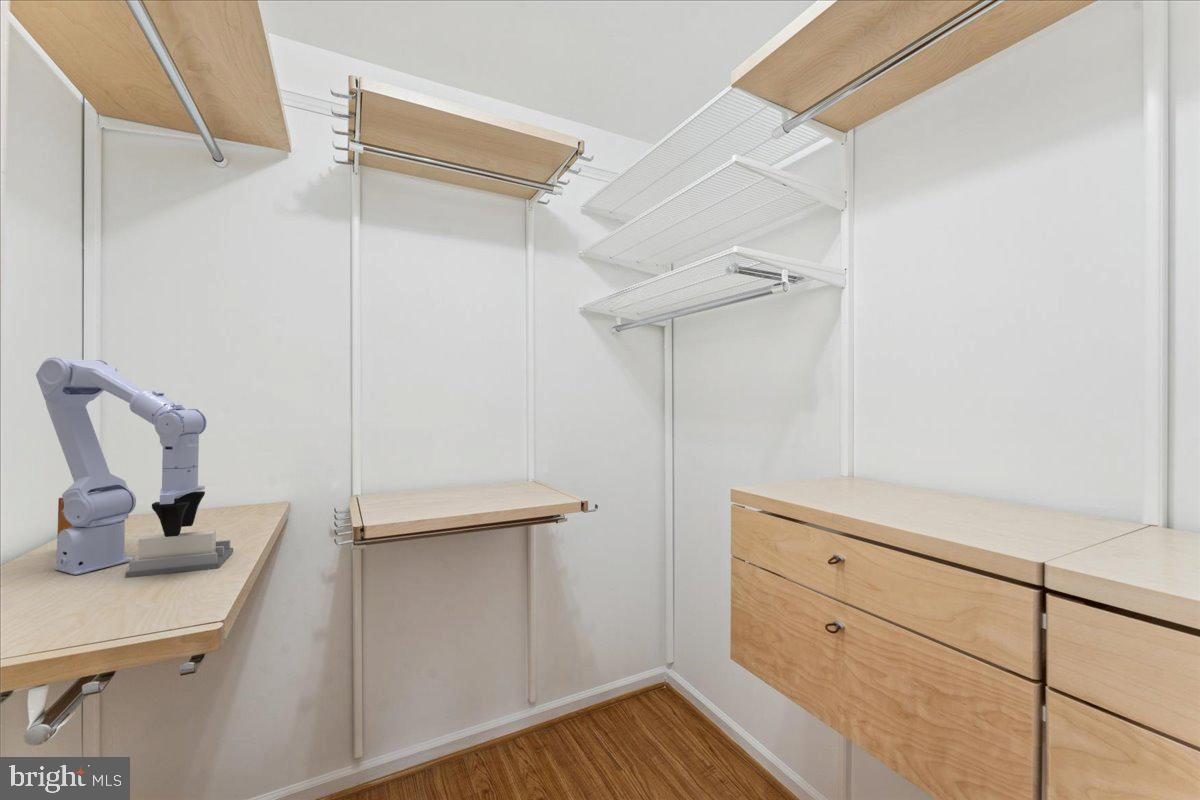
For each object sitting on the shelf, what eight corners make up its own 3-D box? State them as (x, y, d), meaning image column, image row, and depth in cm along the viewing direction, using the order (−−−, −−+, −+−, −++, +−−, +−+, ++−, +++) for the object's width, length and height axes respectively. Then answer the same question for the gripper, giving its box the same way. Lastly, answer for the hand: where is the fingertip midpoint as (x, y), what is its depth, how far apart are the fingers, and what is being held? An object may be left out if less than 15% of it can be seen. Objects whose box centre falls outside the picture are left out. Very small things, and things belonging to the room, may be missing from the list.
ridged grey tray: (125, 577, 95) (125, 562, 95) (149, 559, 105) (149, 546, 105) (218, 568, 101) (218, 553, 101) (233, 551, 111) (233, 539, 111)
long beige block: (138, 568, 97) (138, 539, 97) (143, 564, 100) (144, 535, 100) (211, 561, 102) (212, 533, 102) (215, 557, 105) (215, 530, 105)
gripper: (192, 471, 96) (190, 538, 96) (215, 461, 109) (213, 520, 109) (146, 472, 93) (145, 542, 93) (175, 462, 106) (174, 523, 106)
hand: (179, 531), depth 101 cm, fingers open, 7 cm apart
